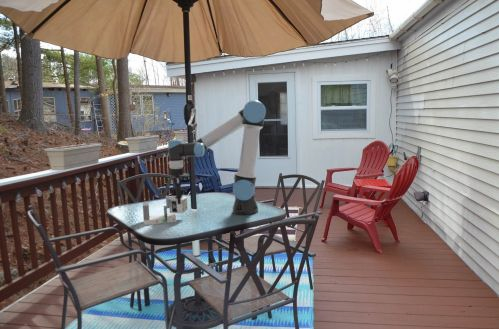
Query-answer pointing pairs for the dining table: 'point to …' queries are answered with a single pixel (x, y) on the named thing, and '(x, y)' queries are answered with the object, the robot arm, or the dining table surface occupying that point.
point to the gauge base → (156, 216)
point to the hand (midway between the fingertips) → (178, 207)
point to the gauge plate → (166, 207)
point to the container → (174, 206)
